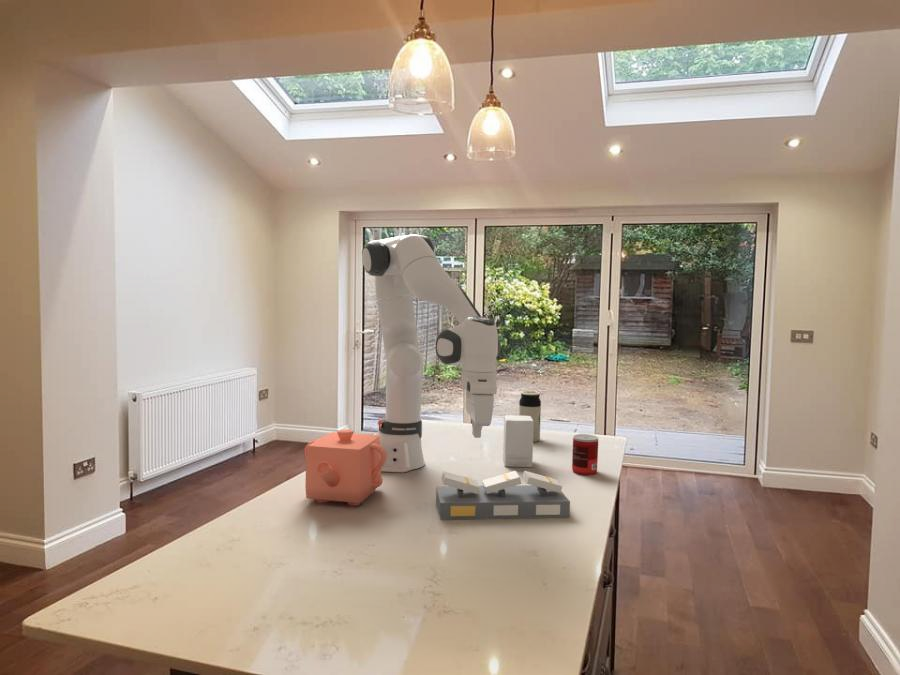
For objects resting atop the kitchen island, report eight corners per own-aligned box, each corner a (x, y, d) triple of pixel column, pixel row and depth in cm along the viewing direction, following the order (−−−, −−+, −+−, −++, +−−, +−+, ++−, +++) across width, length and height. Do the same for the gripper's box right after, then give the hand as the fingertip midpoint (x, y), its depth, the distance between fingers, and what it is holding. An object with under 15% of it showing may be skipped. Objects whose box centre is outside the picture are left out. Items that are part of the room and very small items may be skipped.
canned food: (595, 468, 199) (596, 434, 198) (598, 476, 191) (600, 440, 190) (570, 467, 199) (571, 433, 199) (573, 475, 192) (574, 439, 191)
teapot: (365, 521, 150) (366, 448, 148) (277, 513, 154) (277, 441, 153) (395, 489, 174) (396, 426, 173) (318, 483, 179) (318, 421, 177)
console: (440, 519, 152) (440, 496, 152) (436, 501, 165) (436, 480, 165) (569, 517, 155) (570, 495, 155) (555, 499, 168) (556, 479, 168)
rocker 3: (526, 483, 157) (529, 476, 157) (522, 477, 163) (524, 469, 163) (560, 493, 159) (562, 485, 158) (554, 486, 164) (556, 479, 164)
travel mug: (515, 440, 234) (516, 392, 233) (522, 436, 241) (524, 389, 240) (535, 443, 231) (536, 394, 229) (542, 439, 238) (544, 391, 236)
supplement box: (532, 467, 199) (534, 420, 197) (504, 467, 199) (505, 420, 198) (529, 460, 208) (531, 415, 207) (502, 459, 208) (503, 414, 207)
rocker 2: (487, 493, 157) (485, 486, 156) (483, 486, 162) (481, 479, 162) (521, 483, 157) (519, 476, 157) (517, 477, 163) (515, 470, 163)
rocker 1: (443, 484, 155) (445, 477, 155) (441, 477, 161) (443, 470, 161) (477, 494, 156) (480, 486, 156) (474, 487, 162) (476, 479, 162)
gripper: (461, 375, 167) (459, 427, 168) (471, 387, 147) (469, 446, 148) (484, 376, 168) (482, 427, 169) (498, 388, 148) (495, 446, 149)
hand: (476, 436), depth 158 cm, fingers closed
